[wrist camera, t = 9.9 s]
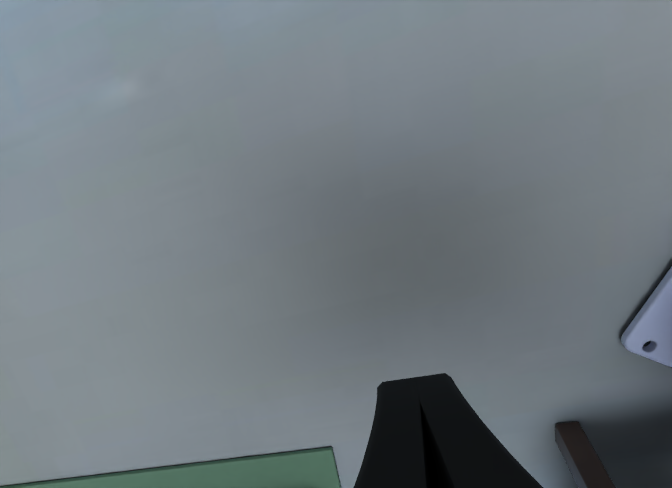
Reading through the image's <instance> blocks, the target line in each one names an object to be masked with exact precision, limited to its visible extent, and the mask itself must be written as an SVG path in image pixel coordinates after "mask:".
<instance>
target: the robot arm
mask: <svg viewBox="0 0 672 488" xmlns="http://www.w3.org/2000/svg"><path fill="white" fill-rule="evenodd" d="M648 341H651V342H650V344H649V345H648V346H645V347H643V345H644V344H645V343H646V342H648ZM621 342H622V344H623V345H624V347H625V348H626V349H627V350H629V351H630V352H632V353H635V354H638V355H640V356H643V357H645V358H648V359H650V360H653V361H656V362H658V363H661V364H663V365H666V366H669V367H671V368H672V267H671V268H670V270H669V271H668V272H667V274H666V275H665V277H664V278H663V279H662V281H661V282H660V283H659V285H658V286H657V288H656V289H655V290H654V292H653V293H652V295H651V296H650V297H649V299H648V300H647V301H646V303H645V304H644V306H643V307H642V308H641V310H640V311H639V312H638V314H637V315H636V317H635V318H634V319H633V321H632V322H631V324H630V325H629V326H628V328H627V329H626V330H625V332H624V333H623V335H622V337H621ZM354 488H543V487H542V486H541V485H540V484H539V483H538V482H537V481H536V480H535V479H534V478H533V477H532V476H531V475H530V474H529V473H528V472H527V471H526V470H525V469H524V468H523V467H522V466H521V465H520V463H519V462H518V461H517V460H516V459H515V458H514V457H513V456H512V455H511V454H510V453H509V452H508V451H507V449H506V448H505V447H504V446H503V445H502V444H501V443H500V441H499V440H498V439H497V438H496V437H495V436H494V435H493V433H492V432H491V431H490V430H489V429H488V428H487V426H486V425H485V424H484V423H483V421H482V420H481V419H480V418H479V416H478V415H477V414H476V413H475V411H474V410H473V409H472V407H471V406H470V405H469V403H468V402H467V401H466V399H465V398H464V397H463V395H462V394H461V392H460V391H459V389H458V388H457V386H456V385H455V383H454V381H453V380H452V378H451V377H450V376H448V375H447V374H446V373H443V374H436V375H429V376H422V377H415V378H407V379H400V380H393V381H386V382H382V383H381V384H380V385H379V386H378V388H377V404H376V410H375V416H374V421H373V425H372V430H371V434H370V438H369V441H368V445H367V448H366V452H365V455H364V459H363V462H362V466H361V469H360V472H359V475H358V477H357V480H356V483H355V486H354Z"/></svg>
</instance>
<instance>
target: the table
mask: <svg viewBox="0 0 672 488" xmlns="http://www.w3.org/2000/svg"><path fill="white" fill-rule="evenodd" d="M555 435H556V443H557V445H558V447H559V449H560V451H561V453H562V455H563V457H564V459H565V461H566V463H567V465H568V467H569V470H570V472H571V474H572V476H573V478H574V480H575V482H576V484H577V486H578V488H616V487H615V485H614V484H613V482H612V480H611V478H610V477H609V475H608V473H607V471H606V470H605V468H604V466H603V464H602V463H601V461H600V459H599V457H598V456H597V454H596V452H595V450H594V448H593V447H592V445H591V443H590V441H589V440H588V438H587V436H586V434H585V433H584V431H583V429H582V427H581V426H580V424H579V422H577V421H576V422H568V423H559V424H556V425H555Z"/></svg>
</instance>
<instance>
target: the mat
mask: <svg viewBox="0 0 672 488" xmlns="http://www.w3.org/2000/svg"><path fill="white" fill-rule="evenodd" d="M0 488H341V486H340V481H339V477H338V472H337V468H336V463H335V459H334V454H333V449H332V447H327V448H318V449H310V450H302V451H294V452H285V453H277V454H269V455H260V456H252V457H244V458H235V459H227V460H219V461H210V462H202V463H194V464H186V465H177V466H169V467H161V468H152V469H144V470H136V471H127V472H119V473H111V474H102V475H94V476H86V477H78V478H69V479H61V480H53V481H44V482H36V483H28V484H19V485H11V486H3V487H0Z"/></svg>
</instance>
